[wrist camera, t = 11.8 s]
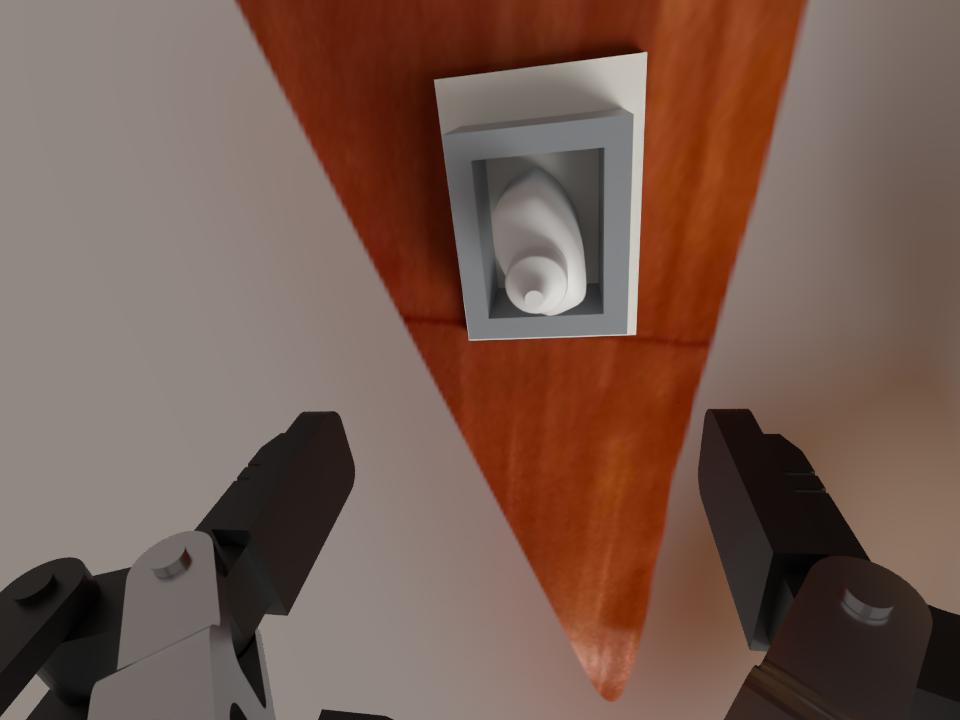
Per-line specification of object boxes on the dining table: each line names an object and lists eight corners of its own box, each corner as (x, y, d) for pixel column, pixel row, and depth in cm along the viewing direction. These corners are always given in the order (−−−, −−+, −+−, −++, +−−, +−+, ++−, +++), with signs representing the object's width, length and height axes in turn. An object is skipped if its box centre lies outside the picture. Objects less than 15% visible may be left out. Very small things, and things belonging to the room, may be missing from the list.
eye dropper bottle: (506, 265, 30) (475, 363, 20) (507, 165, 28) (472, 220, 17) (580, 267, 30) (588, 370, 19) (589, 165, 27) (604, 222, 17)
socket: (437, 79, 27) (411, 80, 22) (644, 52, 25) (663, 47, 20) (471, 333, 34) (456, 375, 29) (633, 327, 32) (646, 371, 27)
